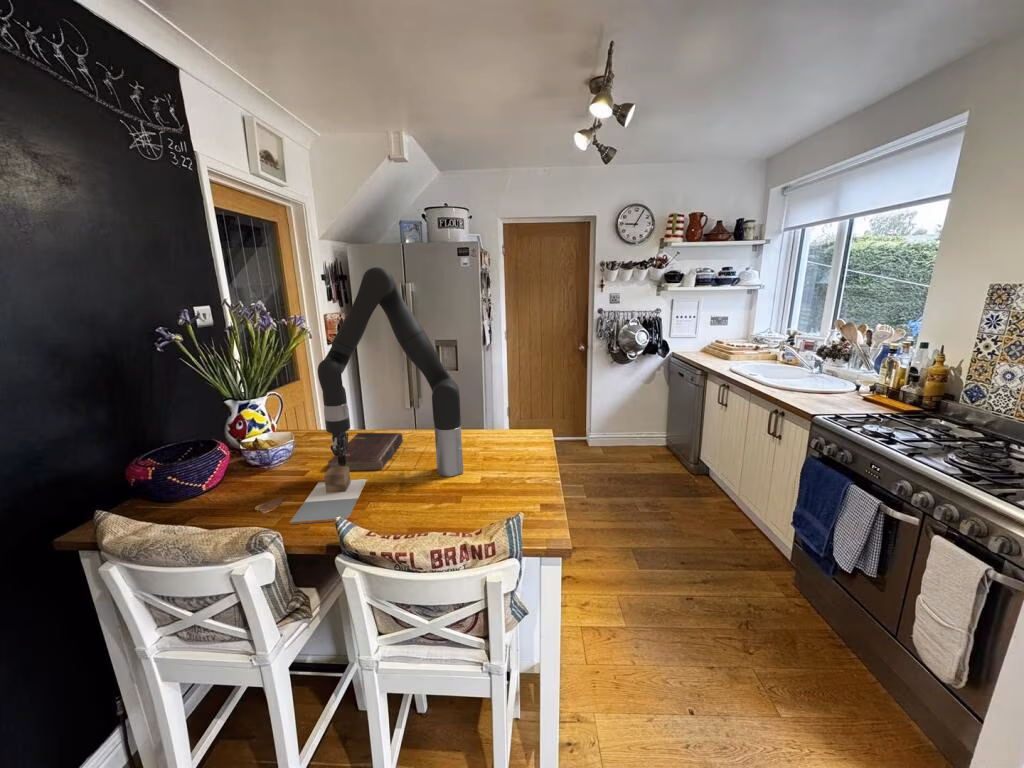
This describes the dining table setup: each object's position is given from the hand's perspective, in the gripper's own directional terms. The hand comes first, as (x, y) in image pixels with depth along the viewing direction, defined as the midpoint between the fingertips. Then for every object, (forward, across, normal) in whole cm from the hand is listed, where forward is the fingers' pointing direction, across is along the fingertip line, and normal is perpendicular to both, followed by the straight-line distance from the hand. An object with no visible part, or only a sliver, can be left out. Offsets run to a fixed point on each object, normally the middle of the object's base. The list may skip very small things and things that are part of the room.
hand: (342, 464), depth 139 cm
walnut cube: (+5, -7, 0) cm, 9 cm away
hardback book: (+7, +20, -4) cm, 21 cm away
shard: (+7, -14, +18) cm, 24 cm away
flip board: (+6, -14, 0) cm, 15 cm away
